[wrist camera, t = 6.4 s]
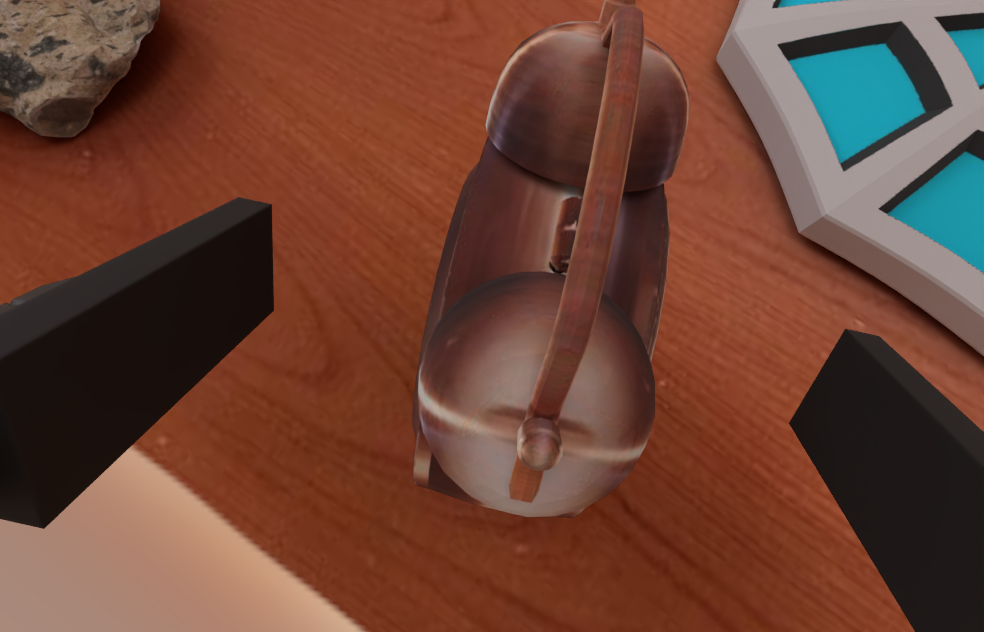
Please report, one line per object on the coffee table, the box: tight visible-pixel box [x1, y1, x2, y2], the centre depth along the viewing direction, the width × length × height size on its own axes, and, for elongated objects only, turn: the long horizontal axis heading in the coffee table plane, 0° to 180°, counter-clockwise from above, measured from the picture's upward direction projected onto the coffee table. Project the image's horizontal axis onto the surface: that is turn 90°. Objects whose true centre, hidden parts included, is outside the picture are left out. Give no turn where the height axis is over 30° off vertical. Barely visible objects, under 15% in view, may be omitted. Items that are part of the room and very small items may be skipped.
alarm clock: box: [413, 0, 689, 518], centre depth 14 cm, size 11×5×15 cm, turn 168°
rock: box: [0, 0, 160, 137], centre depth 22 cm, size 11×11×4 cm
